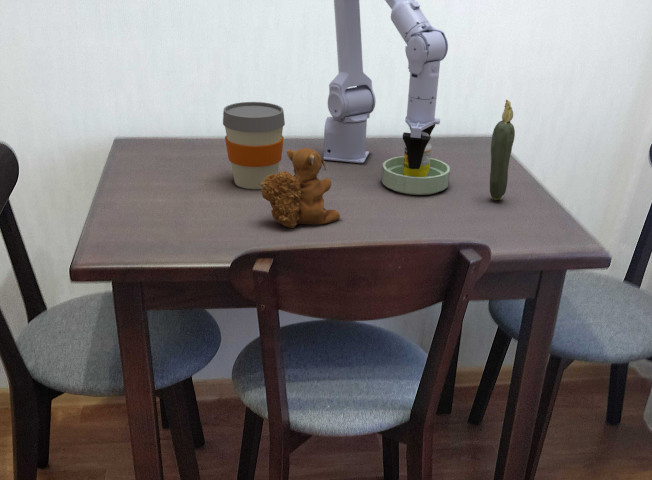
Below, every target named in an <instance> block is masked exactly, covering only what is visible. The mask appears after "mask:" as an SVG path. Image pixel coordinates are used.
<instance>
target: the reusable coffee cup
mask: <svg viewBox="0 0 652 480" xmlns="http://www.w3.org/2000/svg"><path fill="white" fill-rule="evenodd" d="M222 112H223V113H222V126H224V128H225V130H224V131H225V136H224V140H225V146H226V153H227V156H228V158H227V159H228V161H229V162H230V165H231V170H232V175H233V181H234V184H235V185H236V186H237V187H239V188H243V189H247V190H262V189H263V188H264V187H262V186H260V185H259V183H261V182H262V180H265V178H266V177H267V176H268V175H273V174H278V173H279V165H280V162H281V161H282V157H283V149H284V148H283V147H284V139H285V138H284V136H283V131H284V130H283V129H284V126H285V125H286V122H285V112H284V108H283V107H282V106H281V105H278V104H275V103H270V102H262V101H244V102H243V101H242V102H235V103H232V104H228V105H226V106H225V107H224V108H223V111H222Z"/></svg>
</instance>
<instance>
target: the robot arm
mask: <svg viewBox="0 0 652 480" xmlns="http://www.w3.org/2000/svg"><path fill="white" fill-rule="evenodd" d="M384 1H385V2H386V4H387V6H388V7H389V8H390V9H391V11H390V12H391V13H390V20H391V22H392V23H393V25H394V27H395V28H396V30H397V32H398V33H399V35H400V36H401V38H402V39H403V41H404V42H405V44H406V45H405V48H404V51H405V56H406V58H407V62H408V63H407V64H408V65H407V69H408V72H409V83H408V95H407V107H406V116H405V120H404V121H405V123H406V125H407V126H408V127H409V130H410V132H403V133H402V141H403V142H404V146H405V145H406V149H407V155H408V164H409V168H410V169H419V168H420V165H421V162H422V158H423V154H424V150H425V148H426V146H427V144H428V142H429V141H430V140H431V138H432V136H431V134H432V132H433V130H434V128H436V125H441V119H440V118H438V117H436V106H437V99H438V98H437V97H438V88H439V78H440V68H441V61H443V60H444V59H445V58H446V56H447V54H448V50H449V42H448V38H447V36H446V34H445V32H444V31H443V30H441V29H437V28H436V27H435V26H433V25H432V24H431V23H430V21H429V20H428V19H427V17H426V15H425V13H423V11H422V9H421V8H420V7H421V4H419V2H418V1H416V0H384ZM333 8H334V9H333V10H334V23H335V25H334V26H335V38H336V39H335V40H336V52H337V68H338V69H337V71H338V73H337V75H336V76H335V77H334V78H333V80H331V81H330V82H329V83H328V89H329V91H328V97H327V109H328V112H329V114H330V115H331V116H327V117H326V119H325V123H324V132H323V156H322V160H323V161H334V162H343V163H355V164H364V163H365V161H366V160H367V158H368V156H369V154H370V151H368V150H366V146H367V143H366V142H367V127H368V126H367V125H368V119H370V117H371V114H372V113H373V112H374V110H375V108H376V95H375V93H374V89H373V80H372V79H371V78H370V77H369V76H368V75H367V74H366V73H365V72H364V64H363V47H362V46H363V45H362V25H361V8H360V0H333ZM422 132H425V133H428V134H429V136H423V134H422ZM429 143H430V142H429Z"/></svg>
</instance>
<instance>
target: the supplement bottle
mask: <svg viewBox="0 0 652 480" xmlns="http://www.w3.org/2000/svg"><path fill="white" fill-rule="evenodd" d="M422 134H423V136H429V134H428V133H425V132H422ZM432 149H433V147H432V144H431V143H430V142H428V144H427V146H426V148H425V150H424V154H423V158H422V162H421V165H420V168H419V169H410V168H409V164H408V155H407V149H406V145H405V144H404V154H403V156H404V166H403V175H405V176H411V177H429V169H430V159H431V158H432Z"/></svg>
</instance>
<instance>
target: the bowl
mask: <svg viewBox="0 0 652 480" xmlns="http://www.w3.org/2000/svg"><path fill="white" fill-rule="evenodd" d="M403 166H404V155H402V156H394V157H392V158H388V159H386V160H385V161H383V163H382V166H381V183H382V184H383V185H384V187H386V188H388V189H390V190H392V191H394V192H396V193H401V194H405V195H413V196H427V195H434V194H437V193H439V192H442V191H445V189H447V188H448V187H449V184H450V183H449V182H450V174H451V167H450V166H449V164H448V163H446V162H445V161H443V160H440V159H437V158H433V157H431V159H430V169H429V177H411V176H405V175H403Z"/></svg>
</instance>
